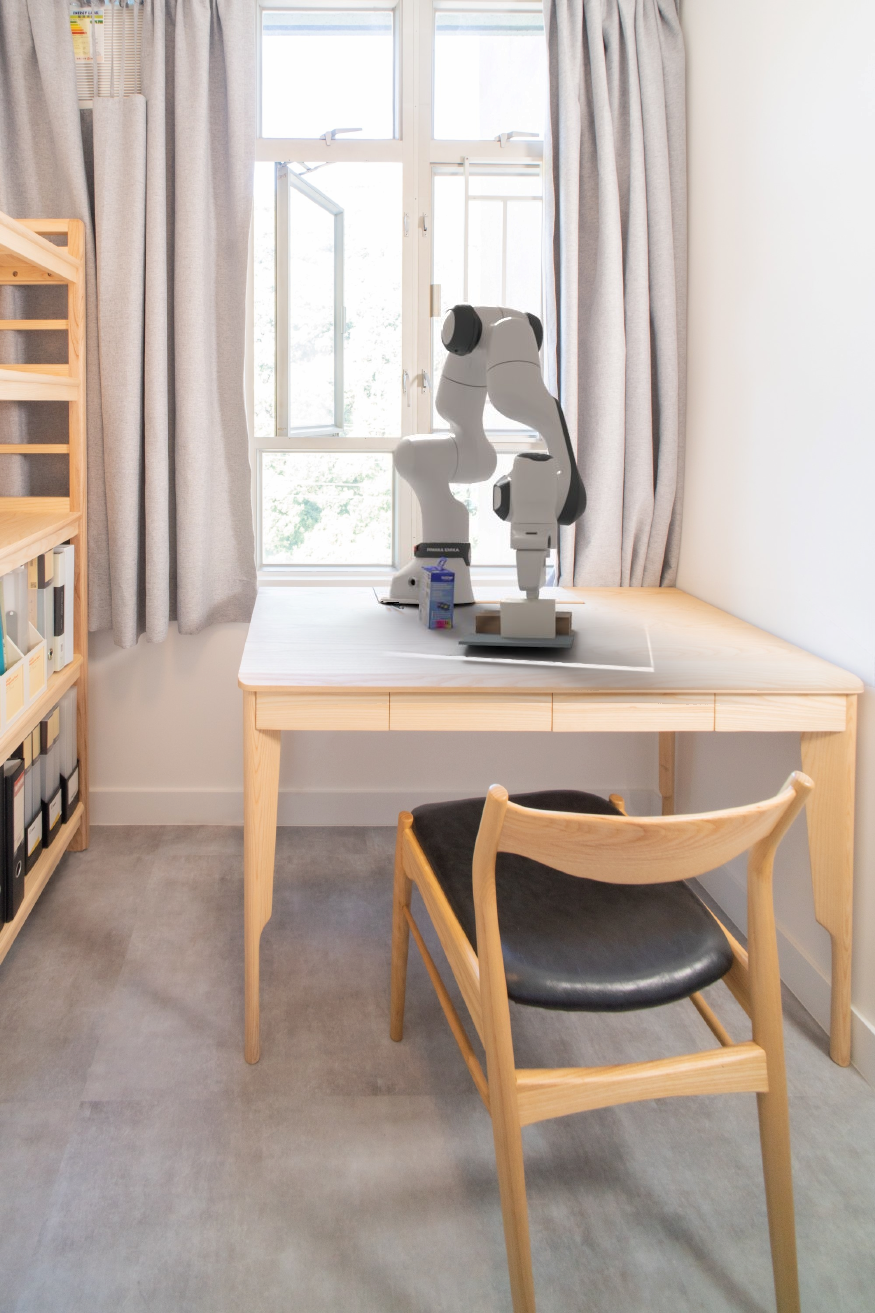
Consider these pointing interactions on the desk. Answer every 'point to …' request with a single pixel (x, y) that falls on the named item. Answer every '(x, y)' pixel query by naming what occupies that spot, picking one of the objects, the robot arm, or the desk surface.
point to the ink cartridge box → (436, 596)
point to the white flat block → (527, 618)
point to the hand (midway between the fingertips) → (532, 612)
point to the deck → (492, 622)
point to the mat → (516, 640)
